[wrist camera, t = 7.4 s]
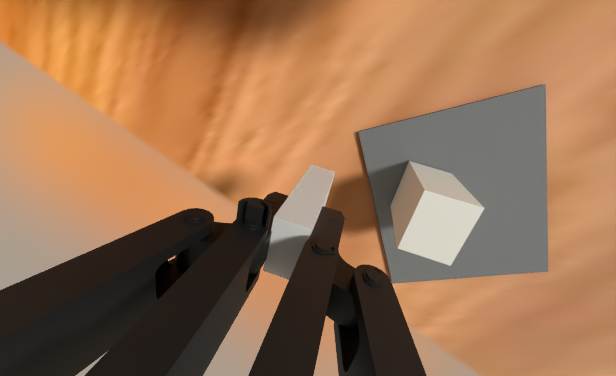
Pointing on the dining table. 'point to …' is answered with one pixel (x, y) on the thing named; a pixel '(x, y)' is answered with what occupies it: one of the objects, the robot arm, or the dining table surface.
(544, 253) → the mat
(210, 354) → the robot arm
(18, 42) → the dining table surface
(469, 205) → the white block
